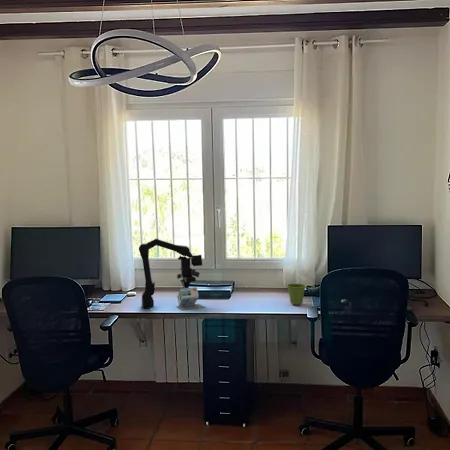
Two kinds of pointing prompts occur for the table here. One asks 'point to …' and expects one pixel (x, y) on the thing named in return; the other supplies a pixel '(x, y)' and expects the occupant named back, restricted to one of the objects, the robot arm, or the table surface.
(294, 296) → the plant pot
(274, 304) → the table surface
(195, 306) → the slate mat
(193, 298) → the light bulb box
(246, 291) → the table surface
